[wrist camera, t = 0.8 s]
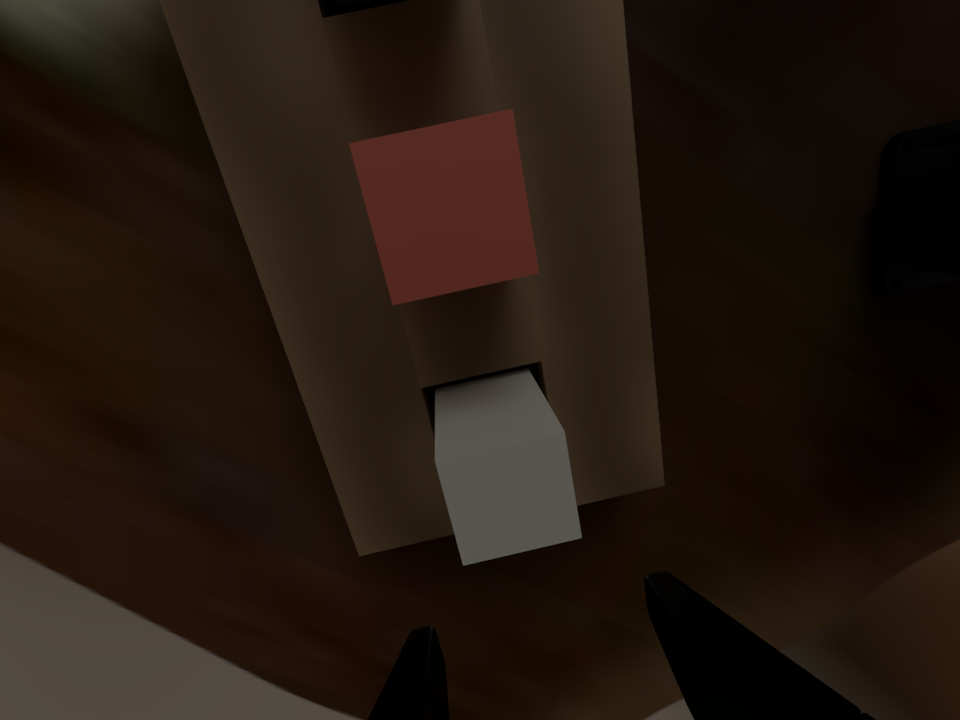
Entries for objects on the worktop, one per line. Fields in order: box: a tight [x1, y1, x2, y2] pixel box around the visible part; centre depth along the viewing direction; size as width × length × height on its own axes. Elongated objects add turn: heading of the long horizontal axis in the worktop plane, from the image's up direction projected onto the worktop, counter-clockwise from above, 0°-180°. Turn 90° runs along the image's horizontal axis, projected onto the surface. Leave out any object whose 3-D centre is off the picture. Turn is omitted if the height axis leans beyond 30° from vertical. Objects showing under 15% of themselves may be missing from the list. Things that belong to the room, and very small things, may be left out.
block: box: [159, 0, 665, 556], centre depth 16 cm, size 12×23×4 cm, turn 12°
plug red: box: [349, 109, 539, 305], centre depth 12 cm, size 3×3×5 cm
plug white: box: [435, 368, 582, 566], centre depth 15 cm, size 3×3×5 cm
